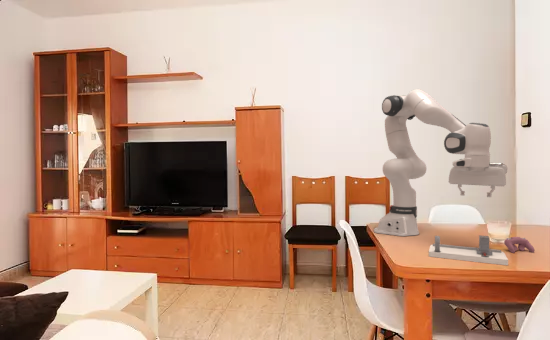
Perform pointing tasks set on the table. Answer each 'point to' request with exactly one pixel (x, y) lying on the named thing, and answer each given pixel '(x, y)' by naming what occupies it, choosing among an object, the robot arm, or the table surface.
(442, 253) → the gauge board
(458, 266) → the table surface
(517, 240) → the video game controller
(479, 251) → the leg
